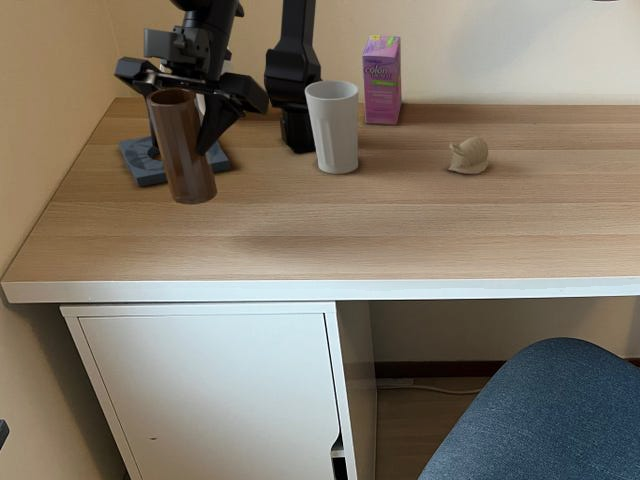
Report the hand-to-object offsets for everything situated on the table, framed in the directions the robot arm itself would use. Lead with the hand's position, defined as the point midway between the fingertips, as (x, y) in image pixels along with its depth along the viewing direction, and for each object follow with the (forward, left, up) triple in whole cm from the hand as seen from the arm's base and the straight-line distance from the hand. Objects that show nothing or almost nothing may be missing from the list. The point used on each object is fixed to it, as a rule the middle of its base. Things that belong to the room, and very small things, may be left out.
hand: (177, 151), depth 98 cm
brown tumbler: (-1, -1, -7) cm, 7 cm away
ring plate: (-3, -26, -13) cm, 29 cm away
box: (-41, -29, -13) cm, 52 cm away
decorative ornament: (-44, -3, -13) cm, 46 cm away
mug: (-12, -41, -13) cm, 45 cm away
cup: (-26, -13, -13) cm, 32 cm away
